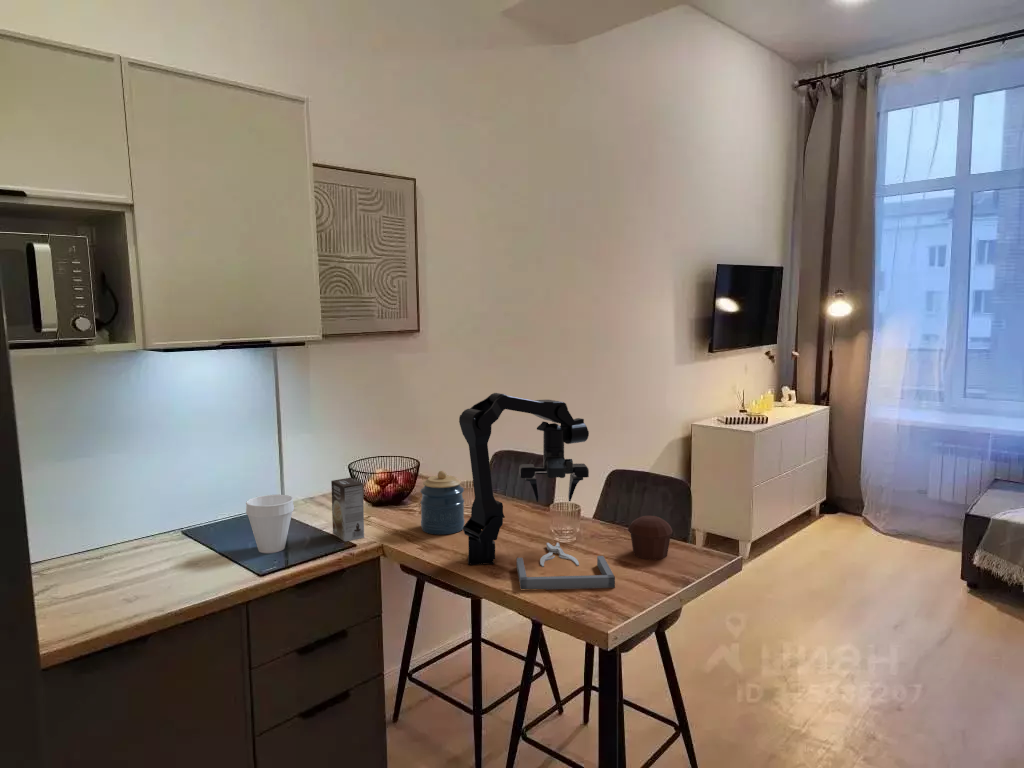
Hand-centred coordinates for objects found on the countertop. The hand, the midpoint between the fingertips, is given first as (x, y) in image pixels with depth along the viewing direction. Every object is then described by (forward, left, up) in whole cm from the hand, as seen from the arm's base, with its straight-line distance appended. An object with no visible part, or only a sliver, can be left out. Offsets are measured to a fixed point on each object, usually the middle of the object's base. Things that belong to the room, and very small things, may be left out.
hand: (553, 501), depth 190 cm
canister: (-31, +16, -12) cm, 37 cm away
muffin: (+25, -10, -12) cm, 29 cm away
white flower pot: (-77, +1, -12) cm, 78 cm away
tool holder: (0, -24, -12) cm, 27 cm away
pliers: (0, -10, -13) cm, 16 cm away
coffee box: (-58, +11, -12) cm, 61 cm away
